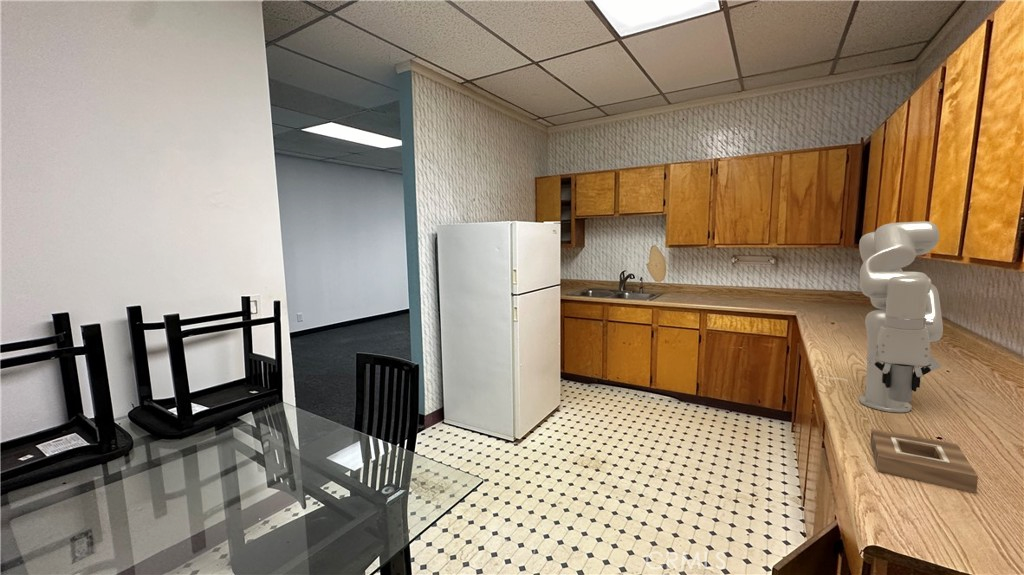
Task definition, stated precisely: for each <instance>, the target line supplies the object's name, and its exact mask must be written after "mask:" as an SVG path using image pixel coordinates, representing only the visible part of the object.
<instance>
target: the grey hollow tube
mask: <svg viewBox="0 0 1024 575" xmlns="http://www.w3.org/2000/svg"><path fill="white" fill-rule="evenodd" d="M913 367H914V366H908V365H898V364H891V367H890V375H891V377H890V388H889V391H888V397H889V398H890V399H891V400H894V401H898V402H908V403H910V402H912V395H913V393H912V391H913V390H912V381H913V372H914V369H913Z"/></svg>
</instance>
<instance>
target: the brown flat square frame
mask: <svg viewBox="0 0 1024 575" xmlns="http://www.w3.org/2000/svg"><path fill="white" fill-rule="evenodd" d="M870 446H871V450H872V454H873V458H874V462H875V466H876V470H877V472H879V473H884V474H888V475H891V476H897V477H902V478H905V479H910V480H915V481H918V482H922V483H929V484H933V485H937V486H941V487H946V488H950V489H955V490H960V491H964V492H969V493H974V494H977V490H978V480H979V478H978V474H977V472H976V471H975V469H974V468H973V467H972V464H971V463H970V461H969V460H968V459H967V457H966V455H965V453H964V452H963V450H962V449H961V447H960V446H959V444H957V443H955V442H954V443H953V442H949V441H948V442H947V441H942V440H936V439H931V438H927V437H926V438H925V437H920V436H915V435H914V436H913V435H908V434H903V433H897V432H891V431H885V430H879V429H874V428H871V429H870Z"/></svg>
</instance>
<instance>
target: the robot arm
mask: <svg viewBox="0 0 1024 575" xmlns="http://www.w3.org/2000/svg"><path fill="white" fill-rule="evenodd" d="M939 241H940V230H939V227H938V226H937V225H936V224H935V223H933V222H931V221H926V220H925V221H924V220H923V221H922V220H921V221H920V220H919V221H907V222H905V221H903V222H890V223H885V224H883V225H881V226H879V227H877V228H876V229H875V231H872V232H869V233H868V232H867V233H865V234H864V235H862V236H861V238H860V239H859V244H858V248H859V256H860V257H861V261H862V265H861V266H860V270H859V281H860V282H859V284H860V290H861V292H862V294H863V295H864V296H865V297H867V298H869V299H870V300H869V301H870V303H871V305H872V306H873V307H874V308H875V310H871V311H870V312H868V313H867V314H866V316H865V318H864V319H865V320H864V322H865V331H866V338H867V342H866V343H867V356H866V374H865V376H866V377H865V393H864V394H862V395H860V396H859V397H858V401H859V402H860V403H861V404H862V405H863V406H866V407H869V408H871V409H875V410H878V411H883V412H889V413H907V412H911V411H912V408H913V406H912V404H910V402H898V401H894V400H891V399H890V398H889V397H888V391H889V388H890V377H891V375H890V367H891V364H898V365H908V366H914V367H913V381H912V391H913V392H917V390H918V388H921V378H923V376H925V375H927V374H928V373H931V372H932V371H936V370H938V369H940V368H941V364H940V363H939V362H938V361H937V360H936V358H934V356H932V354H931V343H935V342H938V341H939V340H941V339H942V337H943V332H944V325H943V324H944V323H943V316H942V309H941V302H940V295H939V291H938V288H937V286H935V285H934V284H933V283H932V279H931V278H930V277H929V276H928V275H927V274H926V273H924V272H920V271H904V270H903V269H902V268H905V267H907V266H909V265H911V264H912V263H913V262H914V261H915V259H916V257H917V256H923V255H926V254H928V253H929V252H931V251H932V250H933V249H934V248H936V246H937V245H938V244H939ZM910 410H911V411H910Z"/></svg>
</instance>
